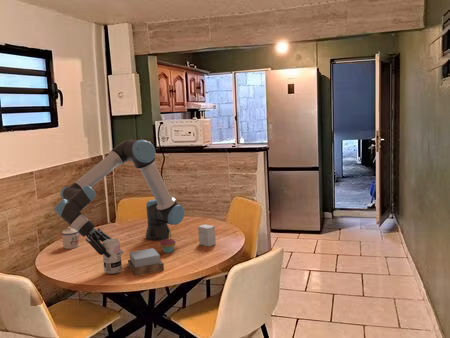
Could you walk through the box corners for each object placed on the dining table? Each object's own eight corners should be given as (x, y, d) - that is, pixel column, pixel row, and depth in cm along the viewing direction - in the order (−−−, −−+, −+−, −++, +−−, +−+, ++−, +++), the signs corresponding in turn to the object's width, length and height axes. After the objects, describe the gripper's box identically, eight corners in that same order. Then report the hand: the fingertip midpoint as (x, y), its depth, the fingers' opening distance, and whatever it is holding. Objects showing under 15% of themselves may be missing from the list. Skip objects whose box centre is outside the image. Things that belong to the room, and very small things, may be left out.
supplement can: (106, 268, 215) (103, 239, 213) (123, 267, 216) (120, 237, 214) (103, 275, 207) (100, 244, 205) (120, 273, 208) (118, 243, 206)
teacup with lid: (72, 249, 249) (70, 229, 247) (59, 248, 252) (57, 228, 250) (86, 243, 260) (84, 224, 258) (73, 242, 263) (71, 223, 261)
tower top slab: (153, 255, 222) (153, 248, 222) (160, 263, 212) (159, 255, 211) (130, 260, 218) (129, 252, 217) (135, 267, 207) (134, 259, 206)
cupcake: (178, 249, 241) (177, 228, 239) (171, 254, 233) (170, 232, 231) (164, 248, 244) (163, 227, 242) (157, 253, 236) (155, 231, 234)
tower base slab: (155, 262, 224) (155, 254, 224) (164, 271, 212) (163, 263, 211) (128, 267, 218) (127, 260, 218) (135, 277, 206) (134, 269, 205)
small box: (216, 244, 247) (215, 226, 245) (208, 247, 243) (208, 228, 241) (205, 241, 252) (205, 224, 251) (198, 244, 248) (197, 226, 247)
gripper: (87, 225, 220) (121, 255, 221) (68, 238, 200) (106, 271, 201) (96, 214, 219) (130, 245, 220) (78, 226, 198) (116, 260, 199)
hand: (118, 257), depth 210 cm, fingers closed on supplement can, 8 cm apart
